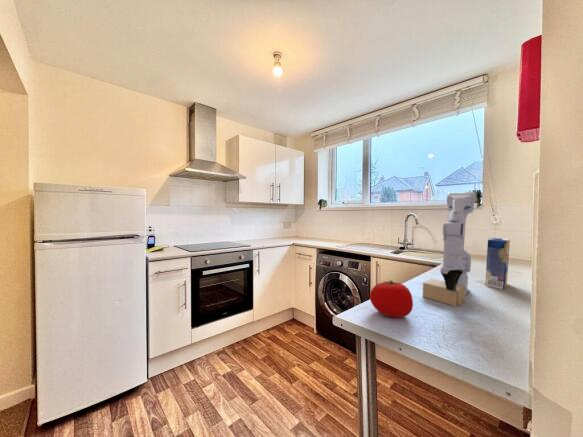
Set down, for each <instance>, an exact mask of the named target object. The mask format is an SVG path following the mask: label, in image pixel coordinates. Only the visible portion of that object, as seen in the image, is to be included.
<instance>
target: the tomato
mask: <svg viewBox="0 0 583 437" xmlns="http://www.w3.org/2000/svg"><path fill="white" fill-rule="evenodd" d="M369 301H370V303H371V305H372V306H373V308H374V309H375V310H376V311H377V312H378V313H380V314H382V315H383V316H388V317H390V318H391V317H392V318H405V317H406V316H409V315H410V313H411V312H412V310H413V307H414V303H413V302H414V301H413V296H412V292H411V291H410V289H409V288H408V287H407V286H406V285H404V284H402V283H401V282H394V281H393V280H391V279H388V281H386V280H383V281H382V282H380V283H378V284H376V285H375V286H374V287H373V288H372V289H371V290H370V293H369Z"/></svg>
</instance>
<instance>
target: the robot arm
mask: <svg viewBox="0 0 583 437" xmlns="http://www.w3.org/2000/svg"><path fill="white" fill-rule="evenodd" d="M475 196H476V194H475V192H474V191H472V192H448V193H447V196H446V205H447V206H446V207H447V210H448V214H447V218H446V220H445V222H446V223H445V222H444V223H443V224H442V225H443V226H442V234H443V235H442V236H443V240H442V241H443V258H442V265H441V266H442V267H440V274H441V276H442V278H443V281H444V282H445V285H446V289H448V290H453V289H454V286H455V284H457V285H461V286H465V295H466V294H467V293H469V292H470V291H471V290H470V289H469V288H468V284H469V283H468V282H469V276H468V273H470V272H471V266H472V258H471V257H472V256H471V254H470V253H469V252H467V251H466V250H465V249H464V248H465V238H466V237H465V236H466V224H467V223H466V222H467V218H468V215H469V214H472V213H473V212H474V208H475V200H476V199H475V198H476V197H475Z"/></svg>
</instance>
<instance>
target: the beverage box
mask: <svg viewBox="0 0 583 437" xmlns="http://www.w3.org/2000/svg"><path fill="white" fill-rule="evenodd" d="M510 240H511V239H510V238H495V237H491V238H489V239H487V250H486V251H487V252H486V266H485V267H486V268H485V269H486V270H485V283H484V286H486V287H492V288H496V289H502V290H505V289H506V287H507V284H508V272H509V257H510Z"/></svg>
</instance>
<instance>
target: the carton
mask: <svg viewBox="0 0 583 437" xmlns="http://www.w3.org/2000/svg"><path fill="white" fill-rule="evenodd" d="M423 283H427V284H431V285H435V286H439V287H443V288H446V285H445V281H444V280H438V279H434V278H430V279H427V280H426V281H424V282H422V284H423ZM456 291H457V303H456V306H455V307H459V306H460V305H462V304H463V303H464V302H466V294H465V286H461V285H457V286H456Z"/></svg>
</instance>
